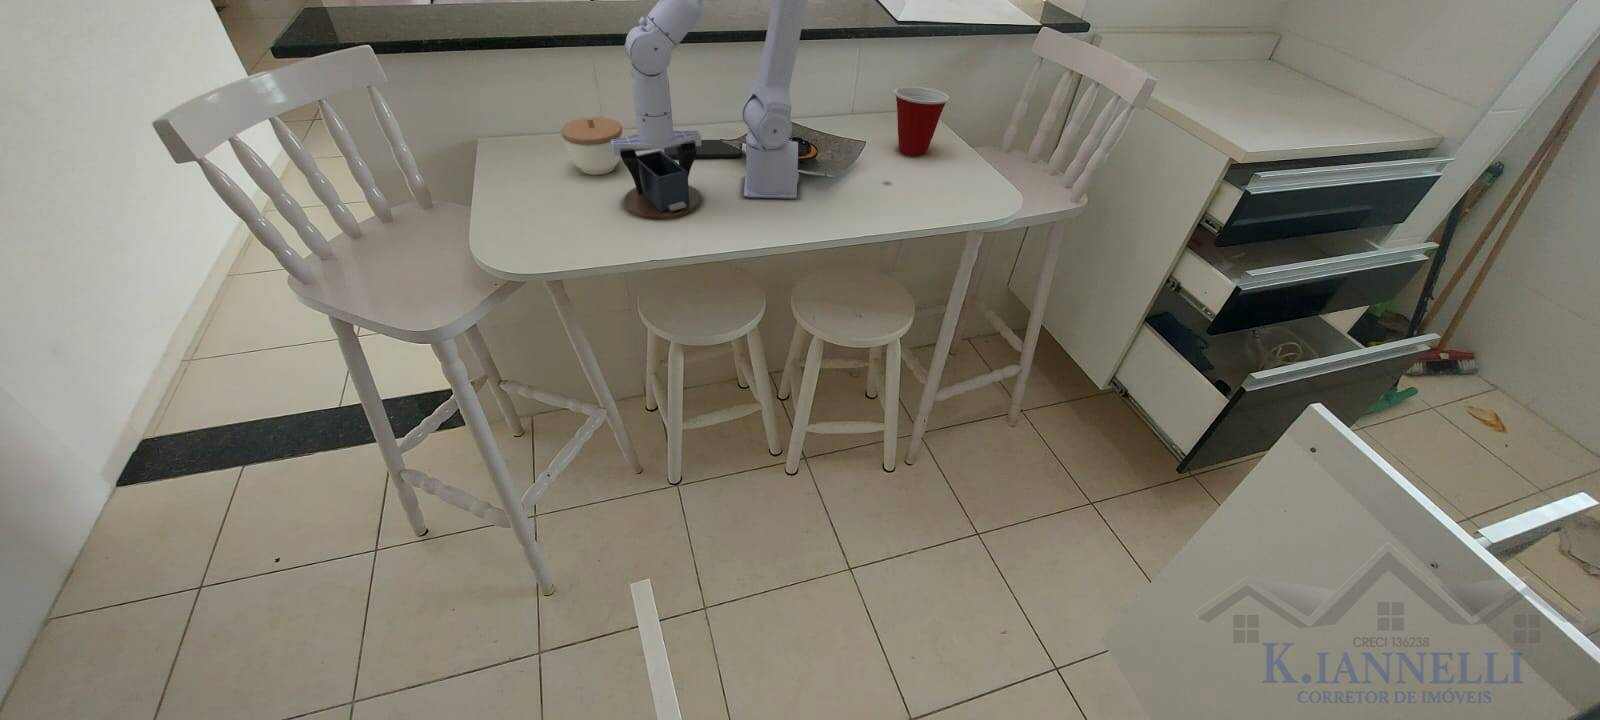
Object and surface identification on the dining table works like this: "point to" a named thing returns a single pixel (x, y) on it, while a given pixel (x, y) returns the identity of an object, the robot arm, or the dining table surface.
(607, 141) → the trinket box
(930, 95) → the plastic cup
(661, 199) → the bin
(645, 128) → the robot arm
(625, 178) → the dining table surface
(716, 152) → the phone
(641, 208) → the disc
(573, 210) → the dining table surface
